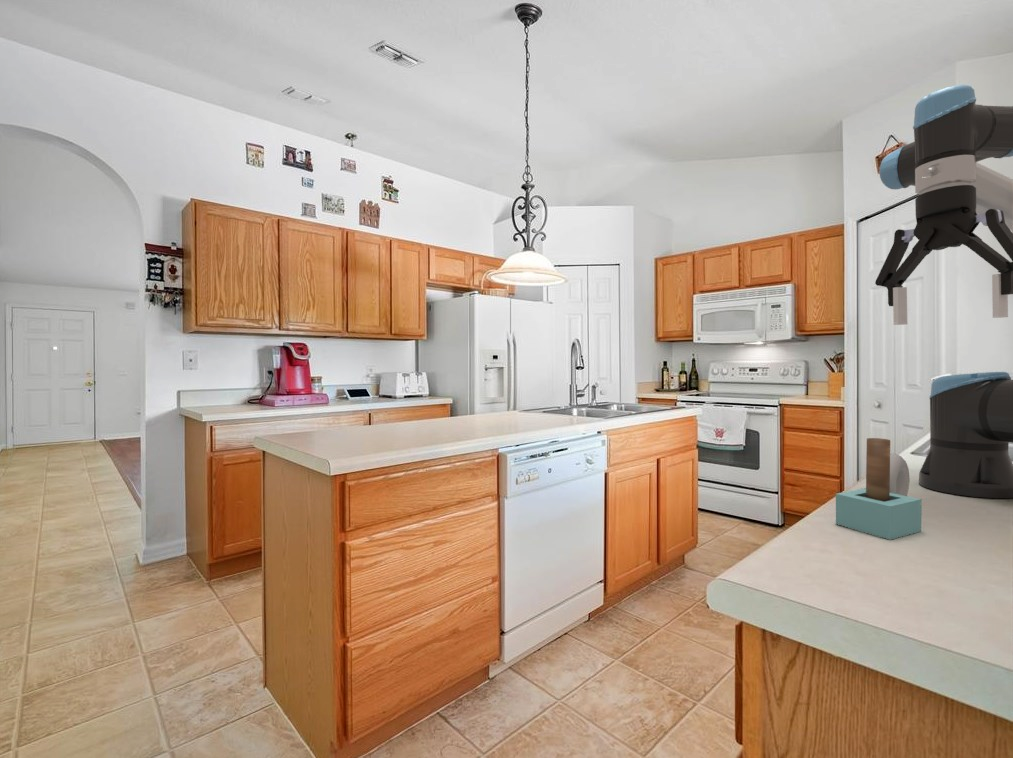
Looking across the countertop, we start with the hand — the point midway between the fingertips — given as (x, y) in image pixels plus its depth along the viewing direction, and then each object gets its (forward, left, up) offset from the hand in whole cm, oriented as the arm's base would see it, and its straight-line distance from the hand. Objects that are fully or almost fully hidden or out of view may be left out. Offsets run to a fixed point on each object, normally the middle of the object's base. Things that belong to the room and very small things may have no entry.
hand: (946, 321), depth 84 cm
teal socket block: (+15, -2, -33) cm, 36 cm away
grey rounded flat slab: (+3, -6, -33) cm, 34 cm away
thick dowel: (+15, -2, -33) cm, 36 cm away
